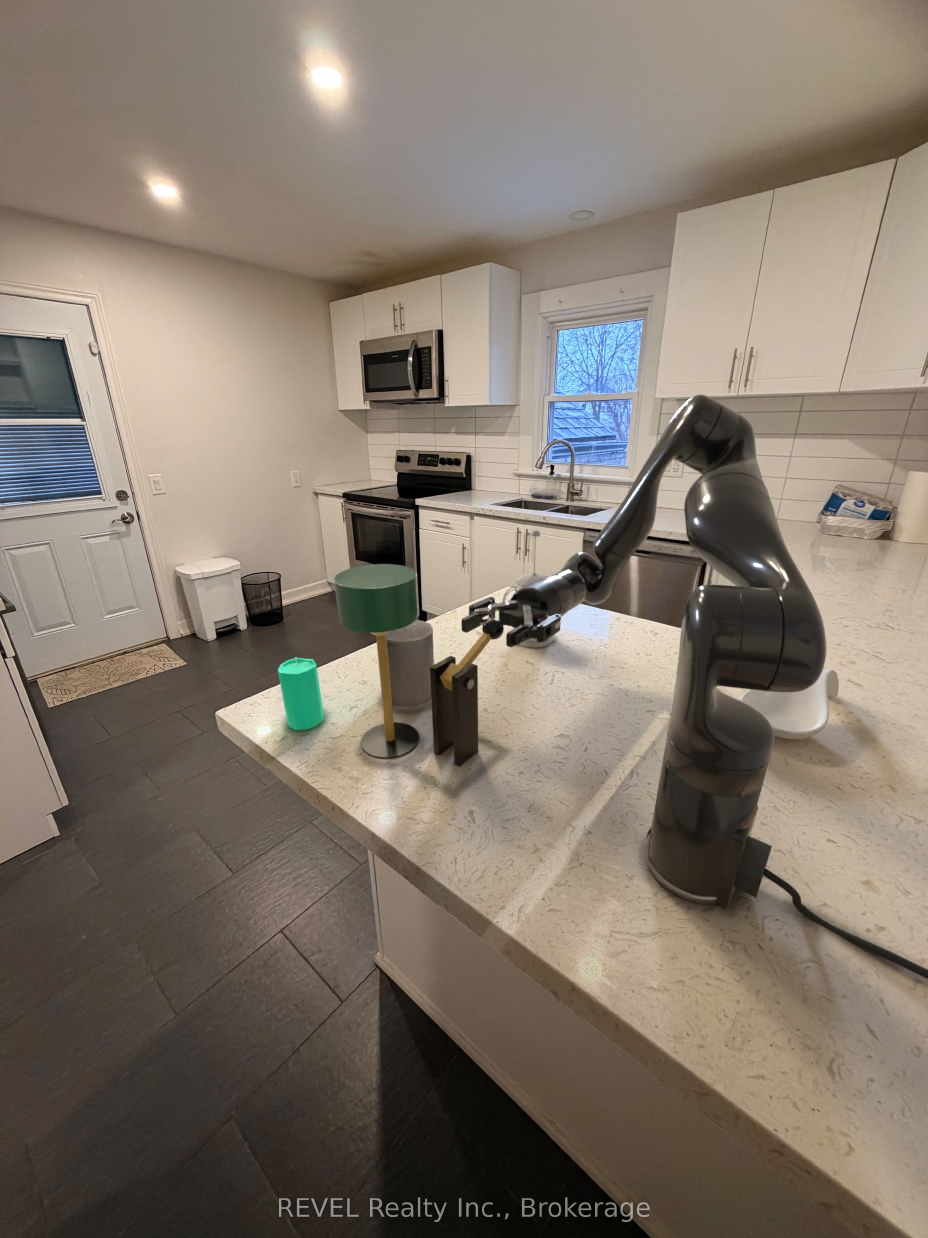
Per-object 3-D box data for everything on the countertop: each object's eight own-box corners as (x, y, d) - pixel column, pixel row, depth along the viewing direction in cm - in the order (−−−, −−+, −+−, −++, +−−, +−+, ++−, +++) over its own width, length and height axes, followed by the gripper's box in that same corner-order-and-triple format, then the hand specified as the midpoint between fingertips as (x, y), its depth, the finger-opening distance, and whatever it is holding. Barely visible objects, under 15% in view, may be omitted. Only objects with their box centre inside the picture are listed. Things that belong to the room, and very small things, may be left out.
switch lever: (492, 626, 76) (487, 611, 74) (509, 631, 74) (504, 616, 72) (443, 688, 70) (435, 674, 68) (460, 695, 68) (453, 681, 66)
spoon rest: (803, 761, 72) (815, 720, 69) (723, 725, 81) (731, 687, 78) (858, 705, 85) (871, 669, 83) (784, 679, 94) (794, 645, 91)
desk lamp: (459, 752, 75) (455, 578, 65) (407, 792, 68) (393, 601, 57) (393, 718, 84) (379, 559, 74) (340, 750, 76) (316, 578, 66)
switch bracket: (459, 729, 81) (457, 642, 75) (504, 751, 76) (505, 659, 70) (406, 768, 72) (399, 673, 66) (453, 795, 67) (449, 694, 61)
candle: (313, 732, 81) (303, 667, 76) (280, 728, 82) (268, 664, 78) (329, 711, 87) (321, 650, 82) (298, 708, 88) (288, 647, 83)
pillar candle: (373, 696, 91) (365, 621, 85) (416, 679, 97) (412, 607, 91) (402, 719, 84) (396, 639, 78) (447, 699, 90) (444, 623, 84)
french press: (556, 647, 109) (563, 535, 99) (503, 647, 109) (505, 535, 99) (550, 629, 118) (555, 524, 108) (501, 629, 118) (502, 525, 108)
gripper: (509, 573, 86) (447, 599, 75) (583, 589, 78) (527, 621, 66) (508, 613, 89) (449, 643, 78) (580, 632, 81) (525, 670, 69)
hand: (485, 633), depth 72 cm, fingers open, 8 cm apart
